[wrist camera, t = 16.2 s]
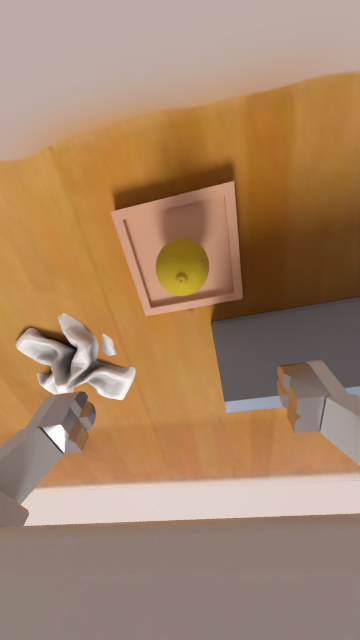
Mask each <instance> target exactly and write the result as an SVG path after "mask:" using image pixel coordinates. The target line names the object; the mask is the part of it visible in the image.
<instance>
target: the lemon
mask: <svg viewBox="0 0 360 640" xmlns="http://www.w3.org/2000/svg"><path fill="white" fill-rule="evenodd" d="M208 273H209V260H208V257H207V254H206V252H205V250H204V249H203V247H202V246H200V245H199V244H198V243H197V242H195V241H193V240H191V239H186V238H178V239H175V240H172V241H170V242H169V243H167V244H166V245H165V246H164V247H163V248H162V249H161V250H160V252H159V254H158V256H157V260H156V274H157V277H158V280H159V282H160V284H161V285H162V287H163V288H164V289H165V290H167V291H168V292H170V293H172V294H174V295H178V296H186V295H190V294H193V293H195V292H196V291H198V290H199V289H200V288H201V287H202V286H203V285H204V283H205V281H206V279H207V277H208Z"/></svg>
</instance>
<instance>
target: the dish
mask: <svg viewBox="0 0 360 640" xmlns="http://www.w3.org/2000/svg"><path fill="white" fill-rule="evenodd" d="M110 213H111V216H112V218H113V221H114V224H115V227H116V230H117V233H118V236H119V239H120V242H121V245H122V248H123V251H124V254H125V257H126V260H127V262H128V265H129V268H130V271H131V274H132V277H133V280H134V283H135V286H136V289H137V292H138V295H139V298H140V301H141V304H142V306H143V309H144V312H145V315H146V316H149V315H155V314H161V313H166V312H172V311H178V310H183V309H189V308H195V307H200V306H206V305H212V304H217V303H223V302H229V301H234V300H240V299H243V292H242V279H241V266H240V253H239V239H238V226H237V213H236V200H235V187H234V181H231V182H227V183H223V184H219V185H215V186H211V187H207V188H203V189H199V190H195V191H191V192H187V193H183V194H179V195H175V196H171V197H167V198H163V199H159V200H155V201H151V202H147V203H143V204H139V205H135V206H131V207H127V208H123V209H119V210H115V211H112V212H110ZM178 238H186V239H191V240H193V241H195V242H197V243H198V244H199V245H200V246H202V247H203V249H204V250H205V252H206V254H207V257H208V260H209V273H208V277H207V279H206V281H205V283H204V285H203V286H202V287H201V288H200V289H199V290H198V291H196V292H195V293H193V294H190V295H186V296H178V295H174V294H172V293H170V292H168V291H167V290H165V289H164V288H163V287H162V285H161V284H160V282H159V280H158V277H157V274H156V260H157V256H158V254H159V252H160V250H161V249H162V248H163V247H164V246H165V245H166V244H167V243H169V242H170V241H172V240H175V239H178Z"/></svg>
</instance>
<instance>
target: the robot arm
mask: <svg viewBox="0 0 360 640" xmlns="http://www.w3.org/2000/svg"><path fill="white" fill-rule="evenodd" d="M277 374H278V376H279V378H280V379H279V380H278V381H277V390H278V395H279V398H280V401H281V403H282V405H283V406H284V407H285V408H286V409H287V417H288V419H289V421H290V424H291V426H292V428H293V430H294V433H302V432H319V431H320V433H321V434H322V435H324V436H325V437H326V438H327V439H328V440H329V441H331V442H332V443H333V444H334V445H335V446H336V447H338V448H339V449H340V450H341V451H342V452H344V453H345V454H346V455H347V456H348V457H349V458H351V459H352V460H353V461H354V462H355V463H357V464H358V465H359V466H360V397H359V396H357V395H355V394H349V393H348V392H347V391H346V390H345V388H344V387H343V386H342V385H341V383H340V382H339V381H338V380H337V378H336V377H335V376H334V375H333V373H332V372H331V371H330V370H329V368H328V367H327V366H326V365H325V363H324V362H323V361H321V360H316V361H308V362H301V363H294V364H287V365H280V366H278V368H277ZM87 399H88V396H87V395H86V393H85V392H72V393H62V394H54V395H50V396H48V397H47V398H46V399H45V401H44V402H43V403H42V405H41V406H40V408H39V409H38V411H37V412H36V413H35V415H34V416H33V418H32V419H31V421H30V422H29V424H28V425H27V426H26V428H25V429H23V430H20V431H19V432H18V433H16V434H15V435H14V436H12V437H11V438H10V439H9V440H7V441H6V442H5V443H3V444H2V445H1V446H0V640H360V514H335V515H334V514H333V515H308V516H280V517H255V518H254V517H253V518H226V519H203V520H202V519H200V520H174V521H147V522H121V523H95V524H68V525H45V526H44V525H42V526H23V525H24V523H25V521H26V519H27V517H28V515H29V513H28V510H27V509H25V508H24V507H22V506H21V503H22V502H23V501H24V500H25V499H26V498H27V496H28V495H29V494H30V493H31V492H32V491H33V490H34V488H35V487H36V486H37V485H38V484H39V483H40V481H41V480H42V479H43V478H44V477H45V476H46V475H47V473H48V472H49V471H50V470H51V469H52V468H53V466H54V465H55V464H56V463H57V462H58V461H59V459H60V458H61V457H62V456H63V454H66V453H75V452H82V451H83V448H84V446H85V443H86V441H87V438H88V436H89V435H88V432H87V431H88V430H89V429H90V428H91V427H92V426H93V424H94V421H95V416H96V411H95V407H94V406H93V404H92V403H90V402H89V401H87Z"/></svg>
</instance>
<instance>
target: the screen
mask: <svg viewBox="0 0 360 640" xmlns="http://www.w3.org/2000/svg"><path fill="white" fill-rule="evenodd" d="M211 326H212V332H213V338H214V344H215V350H216V355H217V361H218V367H219V372H220V378H221V384H222V390H223V396H224V401H225V407H226V413H231V412H240V411H250V410H259V409H268V408H278V407H284V406H283V405H282V403H281V401H280V398H279V395H278V390H277V381H278V380H279V379H280V378H279V376H278V374H277V368H278V366H280V365H287V364H294V363H301V362H308V361H316V360H321V361H323V362H324V363H325V365H326V366H327V367H328V368H329V370H330V371H331V372H332V373H333V375H334V376H335V377H336V378H337V380H338V381H339V382H340V383H341V385H342V386H343V387H344V388H345V390H346V391H347V392H348V393H349V394H355V395H357V396H359V397H360V297H357V298H351V299H345V300H339V301H333V302H327V303H321V304H315V305H309V306H303V307H297V308H291V309H285V310H279V311H272V312H266V313H260V314H254V315H248V316H242V317H236V318H230V319H224V320H218V321H212V322H211Z"/></svg>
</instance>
